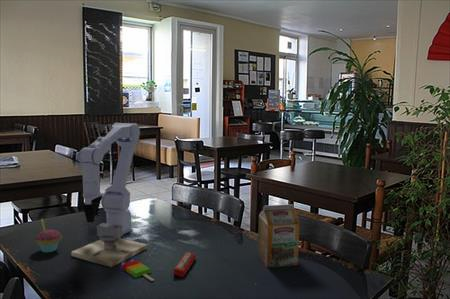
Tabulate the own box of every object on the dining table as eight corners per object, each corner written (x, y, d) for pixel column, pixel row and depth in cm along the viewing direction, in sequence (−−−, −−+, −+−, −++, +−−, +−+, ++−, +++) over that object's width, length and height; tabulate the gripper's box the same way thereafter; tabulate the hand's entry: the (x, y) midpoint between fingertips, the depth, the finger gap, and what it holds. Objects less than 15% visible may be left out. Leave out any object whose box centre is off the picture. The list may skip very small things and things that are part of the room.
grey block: (94, 240, 142) (94, 226, 142) (105, 234, 148) (104, 220, 147) (115, 243, 140) (114, 228, 139) (124, 237, 145) (124, 223, 145)
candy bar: (183, 279, 125) (183, 270, 125) (171, 278, 126) (171, 269, 125) (197, 258, 141) (197, 250, 140) (186, 257, 141) (186, 249, 141)
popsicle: (136, 264, 136) (136, 259, 136) (161, 280, 125) (161, 274, 124) (120, 269, 132) (120, 263, 132) (144, 286, 121) (144, 279, 121)
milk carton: (266, 267, 134) (268, 210, 131) (257, 254, 144) (259, 201, 141) (297, 265, 136) (300, 208, 133) (286, 252, 146) (288, 200, 143)
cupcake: (34, 255, 141) (32, 221, 139) (38, 246, 149) (36, 214, 147) (61, 253, 143) (59, 219, 141) (63, 244, 151) (62, 212, 150)
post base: (109, 239, 157) (109, 227, 156) (147, 248, 148) (147, 236, 148) (71, 255, 141) (70, 243, 140) (111, 267, 133) (110, 253, 132)
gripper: (99, 185, 139) (100, 224, 141) (106, 176, 154) (107, 212, 156) (77, 186, 139) (79, 225, 140) (86, 177, 153) (87, 212, 155)
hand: (92, 218), depth 148 cm, fingers open, 7 cm apart
